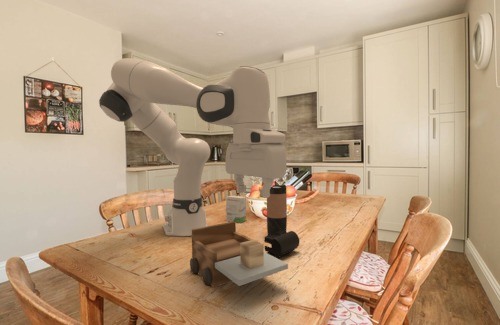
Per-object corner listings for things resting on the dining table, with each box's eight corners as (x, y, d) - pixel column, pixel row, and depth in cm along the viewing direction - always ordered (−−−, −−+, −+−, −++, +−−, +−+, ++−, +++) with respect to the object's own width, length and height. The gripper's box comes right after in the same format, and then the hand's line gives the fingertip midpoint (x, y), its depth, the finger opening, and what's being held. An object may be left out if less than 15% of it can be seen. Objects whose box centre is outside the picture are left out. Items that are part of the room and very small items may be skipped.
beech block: (240, 263, 66) (240, 243, 65) (253, 259, 68) (253, 239, 68) (250, 269, 62) (249, 247, 62) (263, 264, 65) (263, 244, 64)
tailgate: (214, 262, 66) (239, 280, 57) (260, 250, 74) (288, 263, 65) (214, 270, 66) (239, 288, 57) (260, 256, 74) (288, 271, 65)
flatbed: (189, 269, 77) (188, 229, 77) (236, 256, 86) (236, 220, 86) (210, 288, 66) (209, 242, 66) (261, 271, 75) (261, 230, 75)
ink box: (225, 221, 130) (225, 196, 129) (232, 218, 134) (231, 195, 134) (240, 223, 125) (240, 198, 125) (246, 220, 130) (246, 196, 129)
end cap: (281, 261, 82) (281, 239, 82) (263, 255, 87) (263, 235, 87) (299, 252, 89) (299, 232, 89) (282, 247, 94) (282, 228, 94)
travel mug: (286, 241, 99) (285, 187, 98) (265, 240, 101) (265, 187, 100) (287, 235, 107) (287, 185, 106) (268, 234, 108) (267, 184, 107)
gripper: (218, 138, 71) (220, 191, 71) (268, 134, 54) (268, 202, 55) (239, 138, 74) (239, 188, 75) (291, 134, 58) (291, 199, 58)
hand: (252, 194), depth 65 cm, fingers open, 8 cm apart
